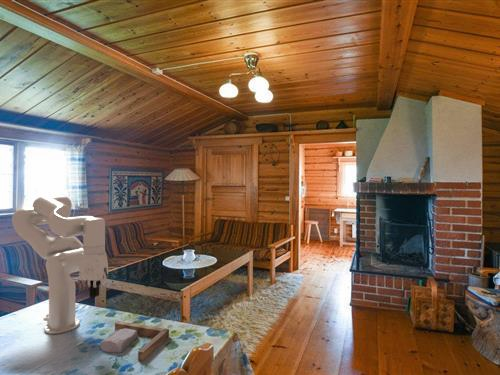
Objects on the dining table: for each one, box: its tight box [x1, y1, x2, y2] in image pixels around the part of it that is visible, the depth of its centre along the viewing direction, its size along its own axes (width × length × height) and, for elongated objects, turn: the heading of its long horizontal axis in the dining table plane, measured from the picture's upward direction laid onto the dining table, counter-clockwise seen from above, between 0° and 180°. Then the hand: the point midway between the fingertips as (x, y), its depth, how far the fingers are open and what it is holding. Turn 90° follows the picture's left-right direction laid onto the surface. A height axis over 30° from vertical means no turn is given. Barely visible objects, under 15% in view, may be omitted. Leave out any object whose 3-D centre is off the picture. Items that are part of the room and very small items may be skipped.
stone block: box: [99, 328, 139, 353], centre depth 115 cm, size 12×5×10 cm
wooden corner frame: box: [114, 320, 170, 362], centre depth 115 cm, size 24×17×3 cm
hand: (94, 296), depth 118 cm, fingers closed
